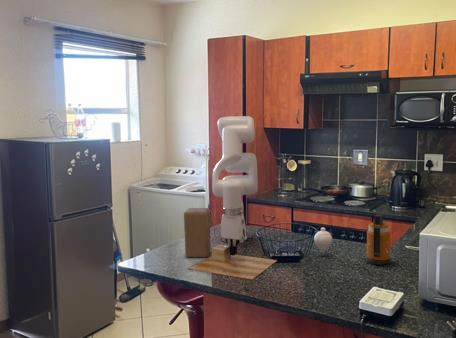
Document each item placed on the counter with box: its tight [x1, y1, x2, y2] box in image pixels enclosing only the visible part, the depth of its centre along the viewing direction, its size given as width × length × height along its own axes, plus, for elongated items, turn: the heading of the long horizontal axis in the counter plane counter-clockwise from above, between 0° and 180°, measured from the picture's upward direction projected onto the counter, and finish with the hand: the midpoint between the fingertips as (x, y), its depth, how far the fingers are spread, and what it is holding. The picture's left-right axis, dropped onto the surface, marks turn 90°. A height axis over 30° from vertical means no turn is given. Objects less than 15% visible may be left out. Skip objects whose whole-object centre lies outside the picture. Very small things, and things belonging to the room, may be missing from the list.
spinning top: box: [313, 227, 333, 256], centre depth 192 cm, size 8×8×12 cm
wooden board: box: [188, 254, 278, 280], centre depth 182 cm, size 24×28×1 cm
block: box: [183, 207, 212, 258], centre depth 196 cm, size 10×10×20 cm
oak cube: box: [211, 244, 231, 261], centre depth 190 cm, size 6×6×5 cm
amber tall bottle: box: [366, 213, 391, 266], centre depth 180 cm, size 9×11×20 cm
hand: (233, 254), depth 189 cm, fingers closed
